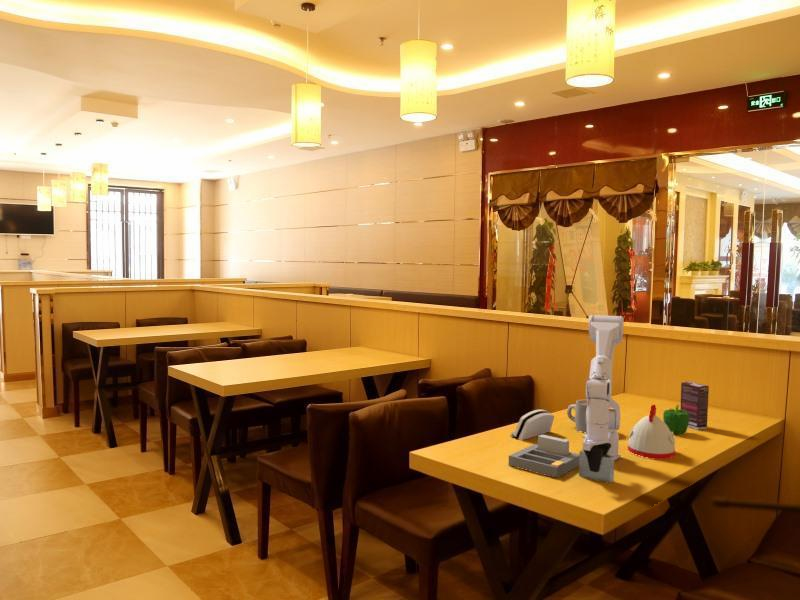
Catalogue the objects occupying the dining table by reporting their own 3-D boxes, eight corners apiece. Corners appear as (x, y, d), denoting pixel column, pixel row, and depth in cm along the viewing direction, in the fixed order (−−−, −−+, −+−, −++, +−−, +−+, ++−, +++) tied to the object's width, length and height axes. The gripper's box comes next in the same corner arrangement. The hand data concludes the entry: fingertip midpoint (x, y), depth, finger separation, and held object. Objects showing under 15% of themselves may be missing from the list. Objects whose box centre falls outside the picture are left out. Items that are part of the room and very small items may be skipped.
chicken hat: (677, 450, 200) (679, 404, 198) (671, 462, 188) (673, 413, 187) (632, 443, 207) (633, 398, 206) (624, 454, 195) (625, 407, 194)
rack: (534, 453, 195) (534, 431, 194) (581, 464, 184) (581, 441, 184) (508, 465, 183) (509, 442, 182) (556, 478, 173) (557, 453, 172)
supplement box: (707, 429, 224) (709, 385, 223) (697, 430, 222) (699, 386, 221) (688, 423, 232) (690, 381, 231) (678, 424, 230) (680, 382, 229)
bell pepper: (681, 437, 213) (682, 409, 212) (658, 432, 219) (659, 404, 219) (693, 433, 218) (694, 405, 218) (670, 428, 225) (671, 401, 224)
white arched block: (539, 428, 223) (547, 404, 220) (549, 435, 220) (558, 411, 217) (509, 436, 212) (517, 411, 209) (519, 444, 209) (528, 419, 206)
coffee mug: (609, 430, 221) (610, 403, 220) (594, 435, 215) (594, 407, 214) (577, 422, 231) (578, 396, 231) (561, 427, 225) (562, 400, 224)
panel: (582, 473, 177) (583, 449, 176) (613, 481, 171) (614, 456, 170) (578, 475, 175) (579, 451, 174) (609, 483, 169) (610, 458, 168)
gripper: (594, 414, 180) (593, 460, 181) (572, 424, 169) (571, 473, 170) (618, 418, 175) (617, 465, 176) (597, 429, 164) (595, 479, 165)
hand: (596, 469), depth 173 cm, fingers closed on panel, 2 cm apart
